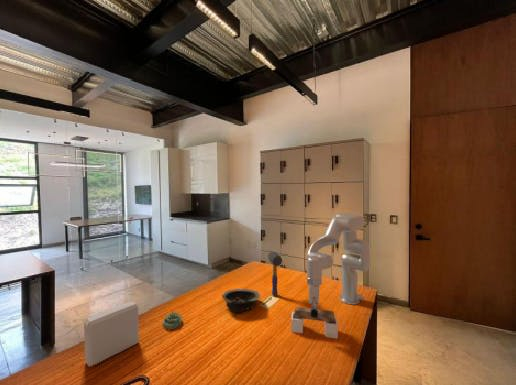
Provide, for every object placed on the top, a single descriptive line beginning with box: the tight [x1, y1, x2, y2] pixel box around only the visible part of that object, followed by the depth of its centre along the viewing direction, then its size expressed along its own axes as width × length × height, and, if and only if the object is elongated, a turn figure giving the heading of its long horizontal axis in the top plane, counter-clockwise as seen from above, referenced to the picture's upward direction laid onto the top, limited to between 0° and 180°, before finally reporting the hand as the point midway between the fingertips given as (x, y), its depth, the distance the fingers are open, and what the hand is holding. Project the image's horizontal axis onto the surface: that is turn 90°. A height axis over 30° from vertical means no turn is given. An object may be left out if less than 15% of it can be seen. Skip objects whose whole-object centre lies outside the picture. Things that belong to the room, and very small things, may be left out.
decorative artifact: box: [162, 311, 183, 330], centre depth 131 cm, size 10×7×10 cm
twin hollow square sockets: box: [290, 311, 339, 340], centre depth 124 cm, size 24×7×7 cm, turn 77°
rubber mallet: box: [267, 250, 283, 297], centre depth 163 cm, size 12×8×30 cm, turn 14°
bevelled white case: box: [83, 300, 140, 367], centre depth 109 cm, size 21×8×20 cm, turn 141°
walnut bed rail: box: [294, 306, 335, 324], centre depth 124 cm, size 20×4×7 cm, turn 77°
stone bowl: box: [221, 288, 261, 313], centre depth 150 cm, size 25×25×9 cm
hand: (314, 311), depth 124 cm, fingers open, 9 cm apart
